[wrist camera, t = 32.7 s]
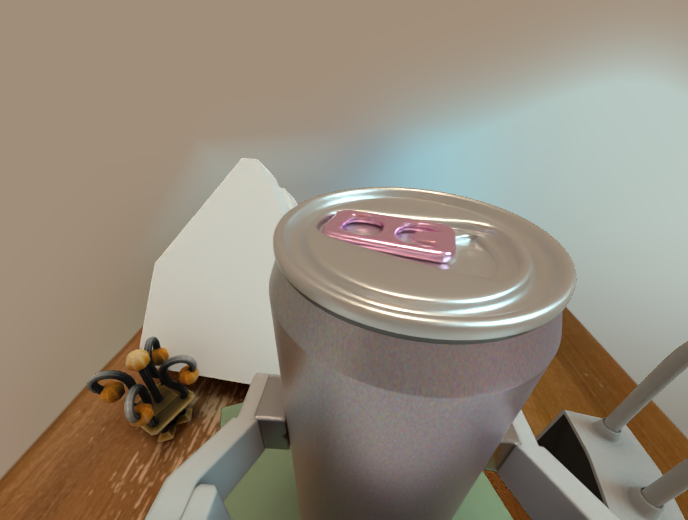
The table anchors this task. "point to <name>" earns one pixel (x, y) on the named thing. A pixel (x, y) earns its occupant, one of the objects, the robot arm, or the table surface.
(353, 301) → the beverage can
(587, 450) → the padlock
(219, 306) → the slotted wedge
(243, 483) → the cover
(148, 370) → the black and orange candelabra
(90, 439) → the table surface
